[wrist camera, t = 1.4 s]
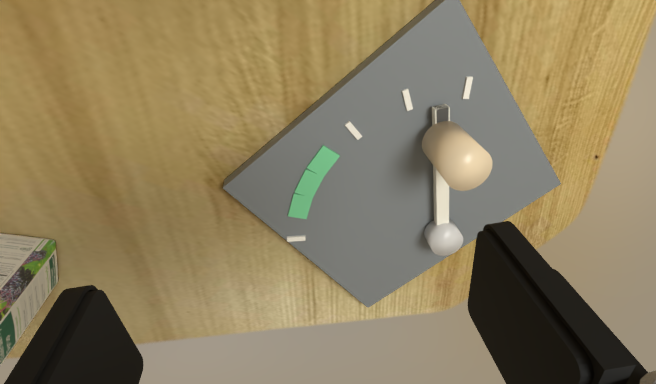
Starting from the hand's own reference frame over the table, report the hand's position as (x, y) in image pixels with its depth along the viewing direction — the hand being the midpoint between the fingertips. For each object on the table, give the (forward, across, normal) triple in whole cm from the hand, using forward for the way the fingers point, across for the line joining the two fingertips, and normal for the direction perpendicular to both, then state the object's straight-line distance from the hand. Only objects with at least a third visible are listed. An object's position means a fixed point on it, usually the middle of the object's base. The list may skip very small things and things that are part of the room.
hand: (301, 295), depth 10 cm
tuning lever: (+23, -13, +12) cm, 29 cm away
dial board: (+24, -9, +12) cm, 29 cm away
